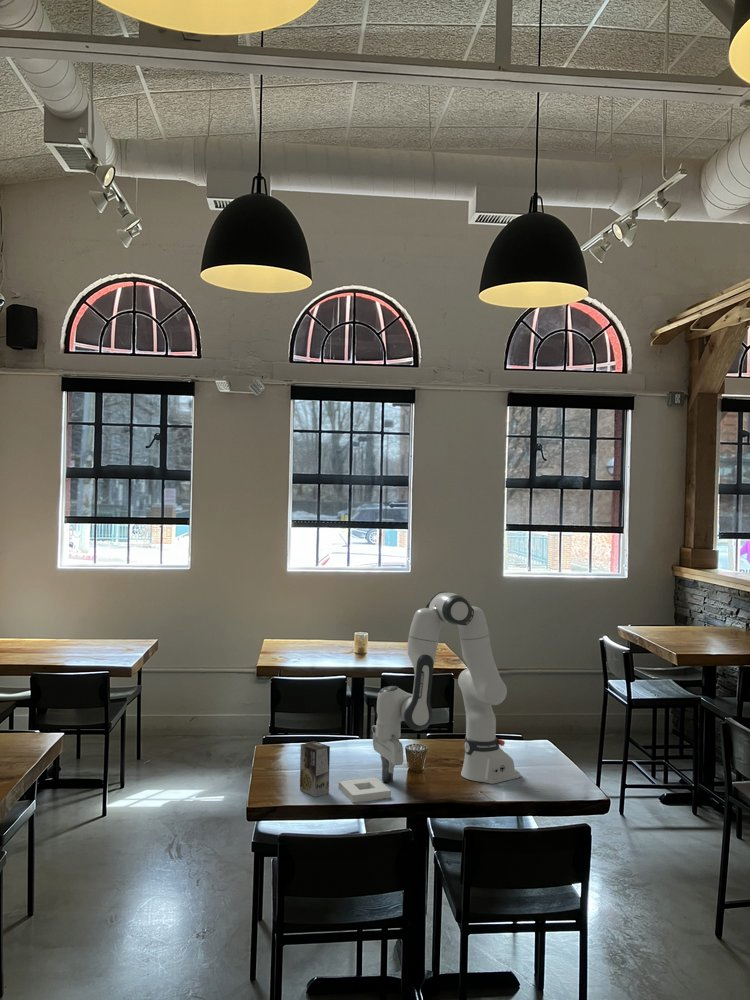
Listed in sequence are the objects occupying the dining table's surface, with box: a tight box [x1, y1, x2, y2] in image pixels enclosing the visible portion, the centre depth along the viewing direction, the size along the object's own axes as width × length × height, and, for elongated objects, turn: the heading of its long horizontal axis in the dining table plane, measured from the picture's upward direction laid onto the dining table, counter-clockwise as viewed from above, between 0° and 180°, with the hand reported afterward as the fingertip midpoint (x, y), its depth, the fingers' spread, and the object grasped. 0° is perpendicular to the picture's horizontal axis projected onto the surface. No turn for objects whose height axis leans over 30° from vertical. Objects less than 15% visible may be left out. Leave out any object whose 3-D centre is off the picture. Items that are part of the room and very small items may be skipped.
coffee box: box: [299, 740, 331, 798], centre depth 260 cm, size 9×6×16 cm
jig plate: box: [338, 776, 392, 803], centre depth 260 cm, size 14×14×2 cm
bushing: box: [381, 757, 394, 783], centre depth 272 cm, size 4×4×8 cm
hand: (387, 770), depth 272 cm, fingers closed on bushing, 4 cm apart
